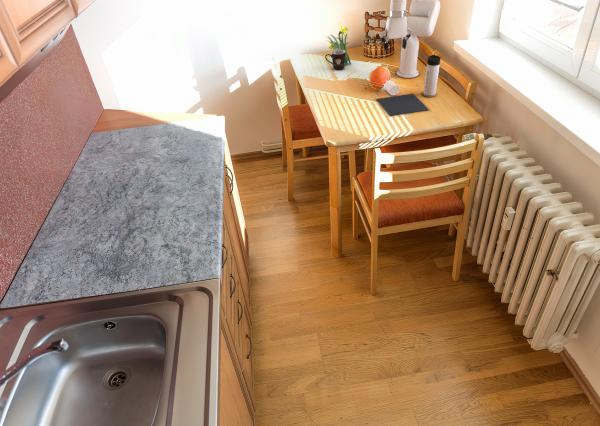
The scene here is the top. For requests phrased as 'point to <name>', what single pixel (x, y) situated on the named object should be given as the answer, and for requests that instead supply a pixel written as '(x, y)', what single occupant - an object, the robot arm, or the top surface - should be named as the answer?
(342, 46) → the daffodil flowers
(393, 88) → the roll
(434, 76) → the travel mug
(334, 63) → the coffee mug
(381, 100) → the slate mat
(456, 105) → the top surface
